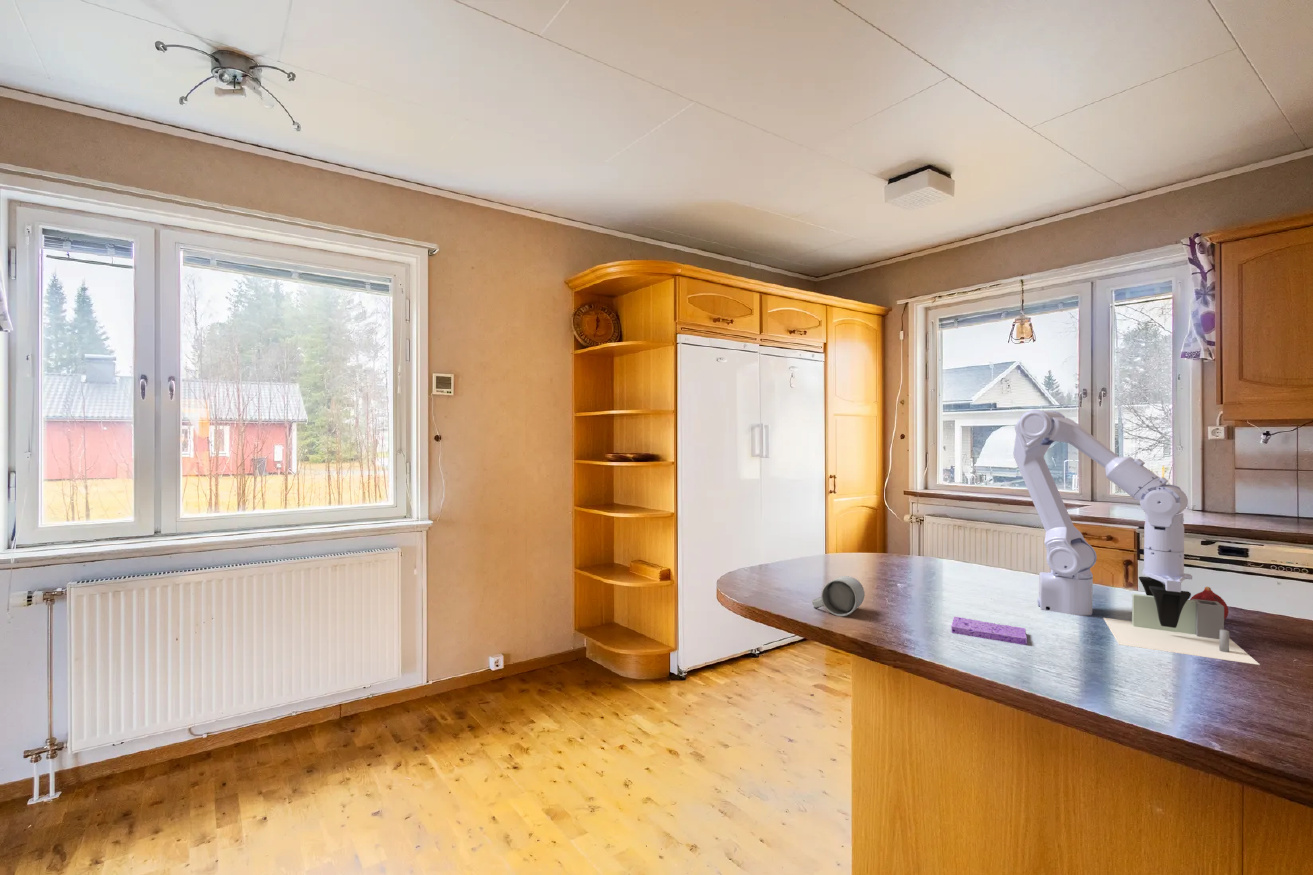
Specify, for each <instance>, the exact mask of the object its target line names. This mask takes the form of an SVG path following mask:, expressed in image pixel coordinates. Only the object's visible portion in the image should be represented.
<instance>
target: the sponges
mask: <svg viewBox="0 0 1313 875" xmlns="http://www.w3.org/2000/svg"><path fill="white" fill-rule="evenodd" d="M950 628H951V630H950V632H951V633H952V634H957V635H962V636H968V637H975V638H982V639H986V640H987V639H988V640H992V641H999V642H1005V643H1011V644H1016V645H1028V638H1027V633H1026V631H1027V629H1026V628H1025V627H1018V626H1012V625H1009V624H1000V623H997V624H996V623H993V622H988V621H982V620H978V619H971V618H964V617H960V616H953V618H952V622H951V626H950Z"/></svg>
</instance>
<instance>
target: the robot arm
mask: <svg viewBox="0 0 1313 875" xmlns="http://www.w3.org/2000/svg"><path fill="white" fill-rule="evenodd" d="M1014 430H1015V433H1016V434H1015V440H1014V446H1013V458H1014V461H1015V463H1016V466H1017V467H1018V470H1019V472H1020V475H1021V477H1022V480H1023V482H1024V484H1025V487H1026V489H1027V492H1028V493H1029V496H1030V499H1031V501H1032V503H1033V505H1034V507H1035V510H1036V512H1037V515H1038V517H1039V519H1040V522H1041V524H1042V526H1043V529H1044V532H1045V535H1044V543H1043V544H1044V546H1045V548H1046V557H1045V558H1046V562H1047V563H1046V564H1047V565H1048V567H1049V568H1050V572H1049V571H1048V572H1045V571H1040V572H1039V574H1038V576H1039V577H1038V597H1037V607H1038V608H1040V610H1041V611H1044V612H1045V611H1048V612H1055V613H1061V614H1067V615H1073V616H1085V617H1086V616H1091V615H1092V614H1093V589H1094V588H1093V581H1094V580H1093V573H1092V570H1091V568H1093V567H1094V566H1095V565H1096V563H1097V558H1098V557H1097V553H1096V550H1095V549H1094V547H1093V546H1092V545H1091V544H1089V543H1088V542H1087V540H1086V539H1085V537H1084V535H1083V533H1082V532H1081V531H1080V530H1079V529H1078V528H1077V527H1076V526H1074V523H1073V521H1072V519H1071V517H1070V514H1069V511H1068V509H1067V508H1066V504H1065V503H1064V501H1063V498H1062V496H1061V494H1060V492H1059V489H1058V487H1057V485H1056V483H1055V480H1054V478H1053V475H1052V473H1051V470H1050V468H1049V467H1048V464H1047V461H1046V460H1045V455H1046V453H1047V451H1048V450H1049V448H1050V447H1051V445H1052V444H1054V443H1055V442H1060V443H1064V444H1065V443H1066V444H1069V445H1071V447H1074V448H1075V449H1076V450H1078V451H1080V452H1081V453H1083V455H1085V456H1086V457H1088V458H1089V459H1091V460H1092V461H1095V463H1097V464H1099V465H1100V466H1101V467H1103V468H1104V470H1105V477H1106V479H1108V480H1109V481H1110V482H1112V483H1113V484H1114V485H1115V486H1116V487H1118V488H1120V489H1121V490H1122V491H1123V492H1125V493H1126V494H1127V495H1129V496H1130V497H1132V498H1133V499H1134V500H1136V501H1139V505H1140V508H1141V510H1142V511H1143V512H1144V515H1145V516H1144V517H1145V519H1144V520H1145V522H1144V529H1143V530H1144V532H1143V534H1144V536H1143V538H1144V541H1143V569H1142V575H1143V576H1138V580H1139V582H1140V583H1141V585H1142V587H1143V590H1144V592H1145V595H1149V596H1154V599H1155V602H1156V606H1157V611H1158V617H1159V621H1160V624H1161V626H1165V627H1172V628H1176V626H1177V624H1178V621H1179V617H1180V614H1181V611H1182V608H1183V606H1184V605H1185V603H1186V602H1187V600H1190V599H1191V597H1192V593H1191V592H1190V591H1187V590H1182V583H1183V582H1184V581H1185V580H1193V575H1192V574H1191V573H1185V525H1184V522H1185V518H1184V513H1183V511H1184V510H1185V509H1186V508H1187V507H1188V504H1189V500H1188V497H1187V494H1186V493H1185V492H1184V491H1183V490H1182V489H1181V488H1180V486H1177V485H1175V484H1168V482H1169V480H1168V479H1167V478H1166V477H1159V475H1156V473H1154V472H1152V471H1151V470H1150V469H1148V468H1147V467H1146V466H1144V465H1145V464H1146V462H1145V461H1144V460H1143V459H1141V458H1136V459H1135V458H1133V457H1131V456H1119V455H1118V454H1116V453H1115V452H1114V451H1113V450H1111V449H1110V448H1108V446H1106V445H1105V444H1103V443H1102V442H1101V441H1099V439H1098V438H1096V437H1095V436H1094V435H1092V434H1091V433H1090V432H1088V431H1087V430H1086V429H1085V428H1083V427H1082V426H1081V425H1080V424H1079V423H1077V422H1075V421H1074V420H1073V419H1071V418H1069V417H1066V416H1065V415H1064V414H1063V413H1061V412H1059V411H1056V410H1040V409H1031V410H1028V411H1026V412H1024V413H1023V414H1022V415H1021V417H1020V418H1019V419H1018V421H1017V422H1016V424H1015V425H1014ZM1048 608H1049V609H1048Z"/></svg>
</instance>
